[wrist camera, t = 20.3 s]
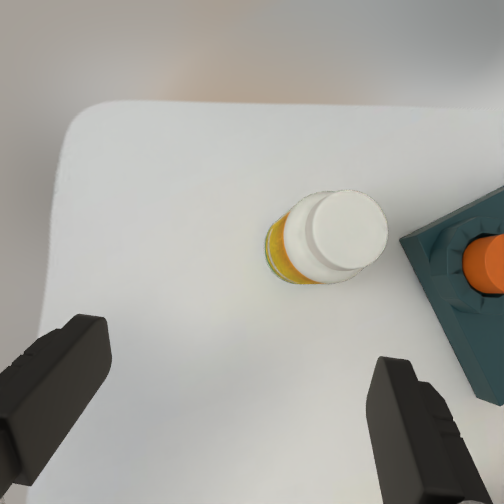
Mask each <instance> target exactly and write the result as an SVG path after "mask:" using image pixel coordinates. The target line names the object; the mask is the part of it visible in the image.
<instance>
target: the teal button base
mask: <svg viewBox="0 0 504 504" xmlns="http://www.w3.org/2000/svg"><path fill="white" fill-rule="evenodd" d="M501 234H504V186H503V187H501V188H499V189H497V190H495V191H493V192H491V193H489V194H487V195H485V196H483V197H481V198H479V199H477V200H475V201H473V202H472V203H470V204H468V205H466V206H464V207H462V208H460V209H458V210H456V211H454V212H452V213H450V214H448V215H446V216H444V217H442V218H440V219H438V220H436V221H434V222H432V223H430V224H429V225H427V226H425V227H423V228H421V229H419V230H417V231H415V232H413V233H411V234H409V235H407V236H405V237H403V238H401V239H400V242H401V244H402V246H403V248H404V250H405V252H406V254H407V256H408V258H409V260H410V262H411V264H412V266H413V268H414V271H415V273H416V275H417V277H418V279H419V281H420V283H421V285H422V287H423V289H424V291H425V293H426V295H427V297H428V299H429V301H430V303H431V305H432V307H433V309H434V311H435V313H436V315H437V317H438V319H439V321H440V323H441V325H442V327H443V329H444V332H445V334H446V336H447V338H448V340H449V342H450V344H451V346H452V348H453V350H454V352H455V354H456V356H457V358H458V360H459V362H460V364H461V366H462V368H463V370H464V372H465V374H466V376H467V378H468V380H469V382H470V384H471V386H472V388H473V390H474V393H475V395H476V397H477V398H480V399H482V400H485V401H487V402H490V403H493V404H495V405H498V406H502V405H503V404H504V294H494V293H483V292H480V291H478V290H476V289H475V288H473V287H472V286H471V285H470V284H469V282H468V281H467V279H466V278H465V275H464V273H463V268H462V258H463V254H464V251H465V249H466V248H467V246H468V245H469V244H470V243H471V242H473V241H474V240H476V239H479V238H484V237H489V236H495V235H501Z"/></svg>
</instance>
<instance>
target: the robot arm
mask: <svg viewBox="0 0 504 504" xmlns="http://www.w3.org/2000/svg"><path fill="white" fill-rule="evenodd" d="M111 362H112V355H111V348H110V340H109V333H108V326H107V321H106V319H105V318H104V317H98V316H91V315H84V314H77V315H75V316H74V317H73V318H72V319H71V320H70V321H69V322H68V323H67V324H66V325H65V326H64V327H62V328H61V329H55V330H53V331H51V332H49V333H48V334H46V335H44V336H42V337H40V338H38V339H37V340H36V341H35V342H34V343H33V344H32V345H31V346H30V347H29V348H27V349H26V350H25V351H24V354H23V355H20V356H19V357H18V358H17V359H16V360H14V362H12V365H11V366H8V367H7V368H6V369H5V370H4V371H3V372H1V373H0V504H5V503H4V497H3V495H4V494H5V493H6V491H7V490H8V489H9V487H10V486H11V485H12V483H15V484H21V485H26V486H32V484H33V483H34V482H35V480H36V479H37V477H38V476H39V474H40V473H41V471H42V470H43V469H44V467H45V466H46V464H47V463H48V461H49V460H50V458H51V457H52V456H53V454H54V453H55V451H56V450H57V448H58V447H59V445H60V444H61V442H62V441H63V440H64V438H65V437H66V435H67V434H68V432H69V431H70V429H71V428H72V427H73V425H74V424H75V422H76V421H77V419H78V418H79V416H80V415H81V414H82V412H83V411H84V409H85V408H86V406H87V405H88V403H89V402H90V401H91V399H92V398H93V396H94V395H95V393H96V392H97V390H98V389H99V388H100V386H101V385H102V383H103V382H104V380H105V379H106V377H107V375H108V373H109V371H110V367H111ZM366 418H367V423H368V428H369V434H370V439H371V444H372V449H373V454H374V459H375V464H376V469H377V474H378V479H379V484H380V489H381V494H382V499H383V504H493V502H492V500H491V498H490V496H489V494H488V492H487V490H486V488H485V485H484V483H483V481H482V479H481V477H480V475H479V473H478V470H477V468H476V466H475V464H474V462H473V460H472V457H471V455H470V453H469V451H468V449H467V447H466V445H465V442H464V440H463V438H461V437H460V432H459V430H458V427H457V425H456V423H455V422H454V421H453V417H452V415H451V412H450V410H449V408H448V406H447V404H446V402H445V400H444V398H443V397H442V396H441V395H440V394H439V393H438V392H437V391H436V390H435V389H434V387H433V386H432V385H431V384H430V383H428V382H421V381H418V379H417V377H416V374H415V372H414V369H413V367H412V364H411V363H410V361H409V360H404V359H397V358H390V357H383V356H380V357H379V358H378V360H377V363H376V366H375V370H374V373H373V377H372V380H371V384H370V388H369V391H368V395H367V400H366Z"/></svg>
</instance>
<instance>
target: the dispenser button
mask: <svg viewBox="0 0 504 504" xmlns="http://www.w3.org/2000/svg"><path fill="white" fill-rule="evenodd" d="M462 268H463V273H464V275H465V278H466V279H467V281H468V282H469V284H470V285H471V286H472V287H473V288H475V289H476V290H478V291H480V292H483V293H494V294H504V234H501V235H495V236H489V237H484V238H479V239H476V240H474V241H473V242H471V243H470V244H469V245H468V246H467V248H466V249H465V251H464V254H463V258H462Z"/></svg>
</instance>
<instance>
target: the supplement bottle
mask: <svg viewBox="0 0 504 504" xmlns="http://www.w3.org/2000/svg"><path fill="white" fill-rule="evenodd" d="M387 239H388V224H387V220H386V217H385V215H384V213H383V211H382V209H381V208H380V206H379V205H378V204H377V203H376V202H375V201H374V200H373V199H372V198H371V197H369V196H368V195H366V194H364V193H361V192H358V191H355V190H341V191H337V192H333V191H322V192H317V193H314V194H311V195H309V196H307V197H305V198H304V199H302V200H301V201H299V202H298V203H297V204H296V205H295V206H294V207H292V208H291V209H290V210H289V211H288V212H286V213H285V214H284V215H283V216H281V217H280V218H279V219H278V220H277V221H276V222H275V223H274V224H273V225H272V226H271V227H270V229H269V230H268V232H267V235H266V238H265V243H264V254H265V259H266V262H267V264H268V266H269V268H270V269H271V270H272V272H273V273H274V274H275V275H276V276H277V277H279V278H280V279H282V280H284V281H286V282H289V283H293V284H333V283H339V282H343V281H346V280H348V279H350V278H352V277H354V276H355V275H357V274H358V273H359V272H360V271H361V270H362V269H363V268H364V267H366V266H368V265H370V264H371V263H373V262H374V261H375V260H377V259H378V258H379V256H380V255H381V254H382V252H383V250H384V248H385V246H386V243H387Z"/></svg>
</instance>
